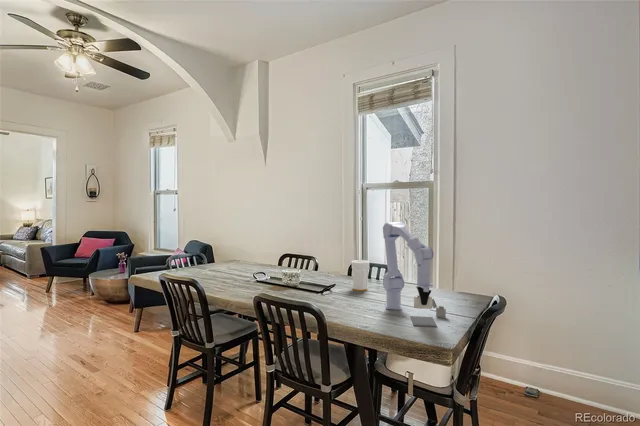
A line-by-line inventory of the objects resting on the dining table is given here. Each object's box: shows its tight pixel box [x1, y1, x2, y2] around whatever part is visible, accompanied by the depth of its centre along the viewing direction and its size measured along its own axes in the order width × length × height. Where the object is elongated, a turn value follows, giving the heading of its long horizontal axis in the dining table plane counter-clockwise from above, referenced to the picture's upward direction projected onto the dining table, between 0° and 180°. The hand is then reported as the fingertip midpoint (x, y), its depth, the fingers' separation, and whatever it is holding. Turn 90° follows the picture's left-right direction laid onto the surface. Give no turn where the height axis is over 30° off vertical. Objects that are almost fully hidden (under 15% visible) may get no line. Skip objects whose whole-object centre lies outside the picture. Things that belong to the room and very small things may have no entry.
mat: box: [410, 315, 438, 328], centre depth 158 cm, size 12×10×1 cm
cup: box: [350, 259, 371, 292], centre depth 216 cm, size 11×11×17 cm
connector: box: [413, 295, 433, 310], centre depth 157 cm, size 3×8×7 cm, turn 82°
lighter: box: [432, 298, 447, 319], centre depth 165 cm, size 7×2×8 cm, turn 56°
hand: (423, 303), depth 157 cm, fingers closed on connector, 3 cm apart
